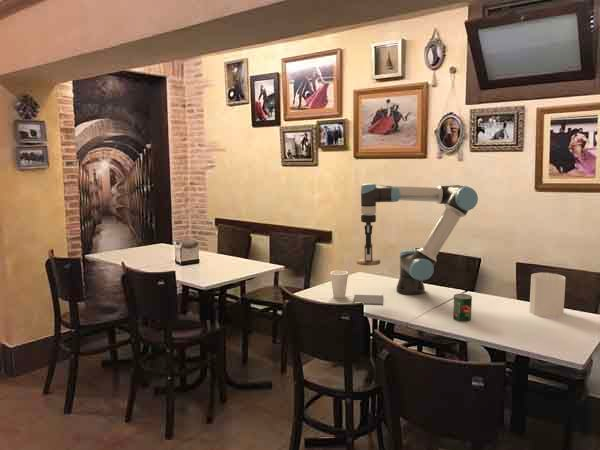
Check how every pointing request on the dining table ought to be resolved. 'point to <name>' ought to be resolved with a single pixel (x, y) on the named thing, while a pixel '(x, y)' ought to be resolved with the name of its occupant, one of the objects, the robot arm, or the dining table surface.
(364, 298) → the mat
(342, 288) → the foam cup
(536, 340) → the dining table surface
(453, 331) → the dining table surface
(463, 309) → the canned tomato
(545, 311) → the container
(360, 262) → the lid
